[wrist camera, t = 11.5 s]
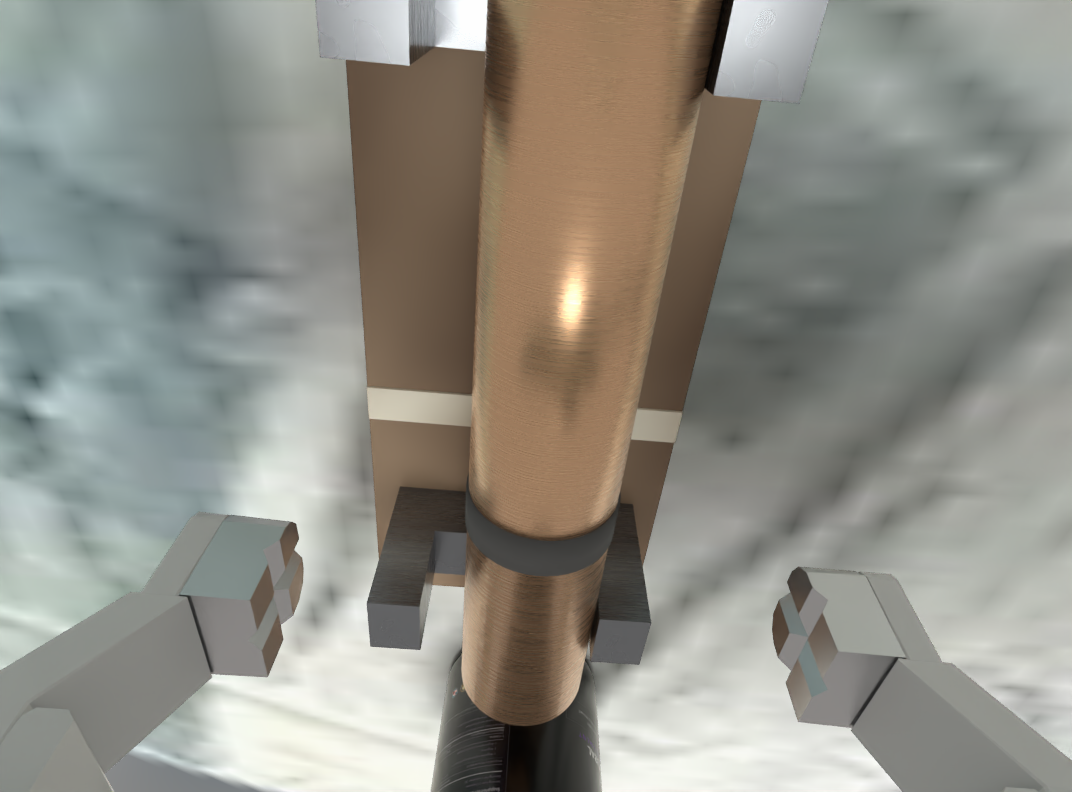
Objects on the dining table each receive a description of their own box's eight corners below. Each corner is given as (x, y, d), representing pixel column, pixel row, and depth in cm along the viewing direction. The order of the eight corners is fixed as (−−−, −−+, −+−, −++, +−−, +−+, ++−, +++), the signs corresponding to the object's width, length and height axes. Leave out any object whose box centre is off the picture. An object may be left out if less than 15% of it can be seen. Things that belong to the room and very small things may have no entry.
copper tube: (461, -216, 11) (548, -276, 8) (680, -175, 12) (831, -211, 9) (446, 631, 23) (478, 744, 20) (556, 605, 24) (602, 707, 21)
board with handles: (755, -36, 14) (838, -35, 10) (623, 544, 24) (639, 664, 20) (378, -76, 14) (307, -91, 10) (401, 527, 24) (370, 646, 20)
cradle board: (824, -205, 14) (844, -217, 13) (631, 579, 27) (634, 601, 26) (337, -260, 13) (322, -277, 12) (385, 561, 27) (379, 583, 26)
